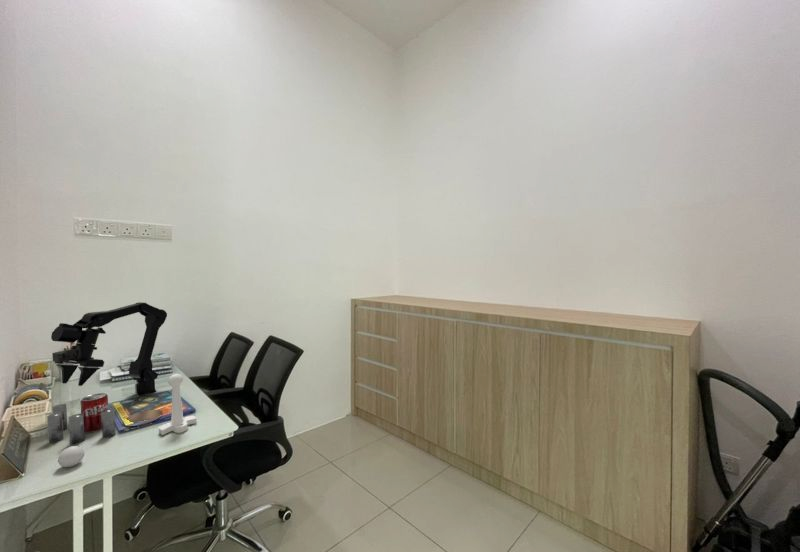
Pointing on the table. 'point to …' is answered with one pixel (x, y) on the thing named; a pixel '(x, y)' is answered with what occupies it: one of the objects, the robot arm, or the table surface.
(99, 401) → the soda can
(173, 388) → the joystick
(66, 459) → the white egg
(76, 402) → the table surface
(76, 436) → the posts
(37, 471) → the table surface
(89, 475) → the table surface
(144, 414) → the walnut pad
